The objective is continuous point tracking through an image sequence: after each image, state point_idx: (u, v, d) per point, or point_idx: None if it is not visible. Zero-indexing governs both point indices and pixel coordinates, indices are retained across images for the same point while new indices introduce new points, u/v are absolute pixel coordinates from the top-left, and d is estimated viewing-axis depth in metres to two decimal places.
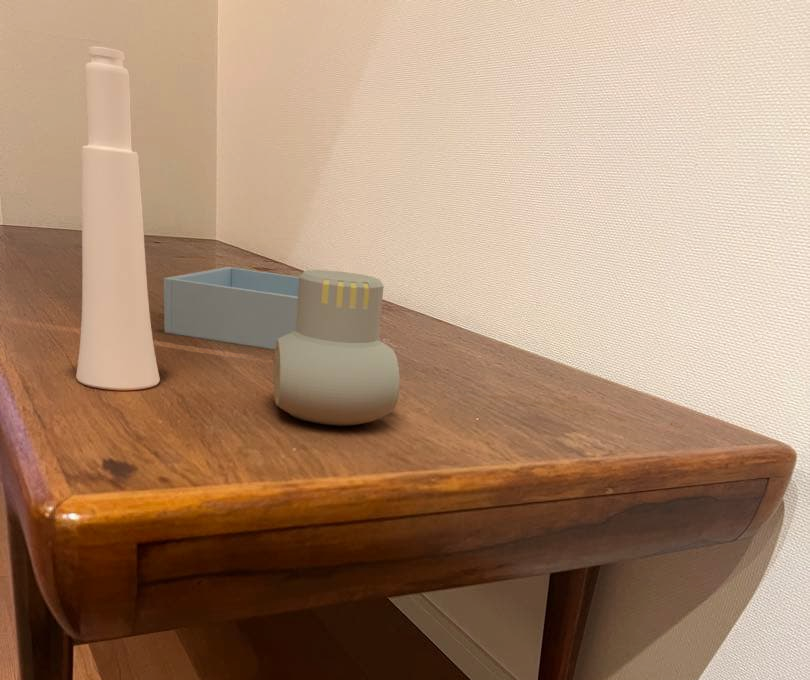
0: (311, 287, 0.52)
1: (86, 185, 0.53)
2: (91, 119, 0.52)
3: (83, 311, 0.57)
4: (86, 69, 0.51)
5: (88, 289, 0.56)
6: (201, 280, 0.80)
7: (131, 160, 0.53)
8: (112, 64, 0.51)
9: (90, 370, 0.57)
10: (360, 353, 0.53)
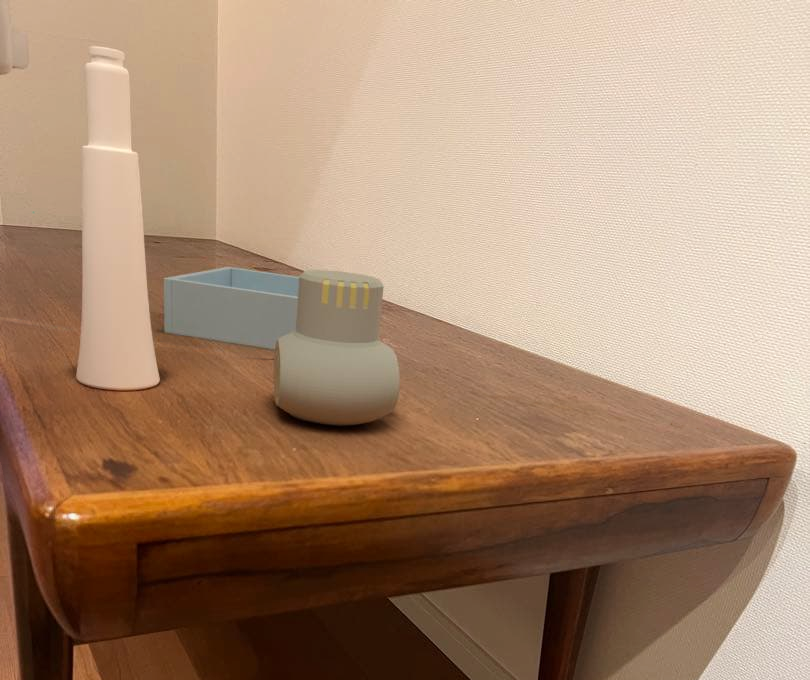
0: (311, 287, 0.52)
1: (87, 184, 0.53)
2: (91, 119, 0.52)
3: (83, 311, 0.57)
4: (86, 69, 0.51)
5: (88, 289, 0.56)
6: (201, 280, 0.80)
7: (131, 160, 0.53)
8: (112, 64, 0.51)
9: (90, 370, 0.57)
10: (360, 353, 0.53)
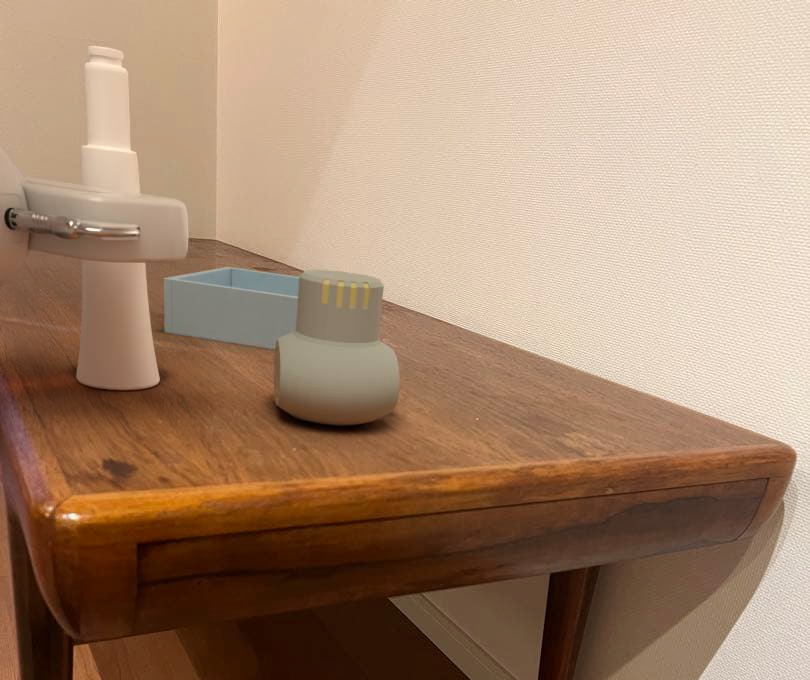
0: (311, 287, 0.52)
1: (86, 184, 0.53)
2: (90, 119, 0.52)
3: (83, 311, 0.57)
4: (85, 69, 0.51)
5: (88, 289, 0.56)
6: (201, 280, 0.80)
7: (130, 160, 0.53)
8: (111, 64, 0.51)
9: (90, 370, 0.57)
10: (360, 353, 0.53)
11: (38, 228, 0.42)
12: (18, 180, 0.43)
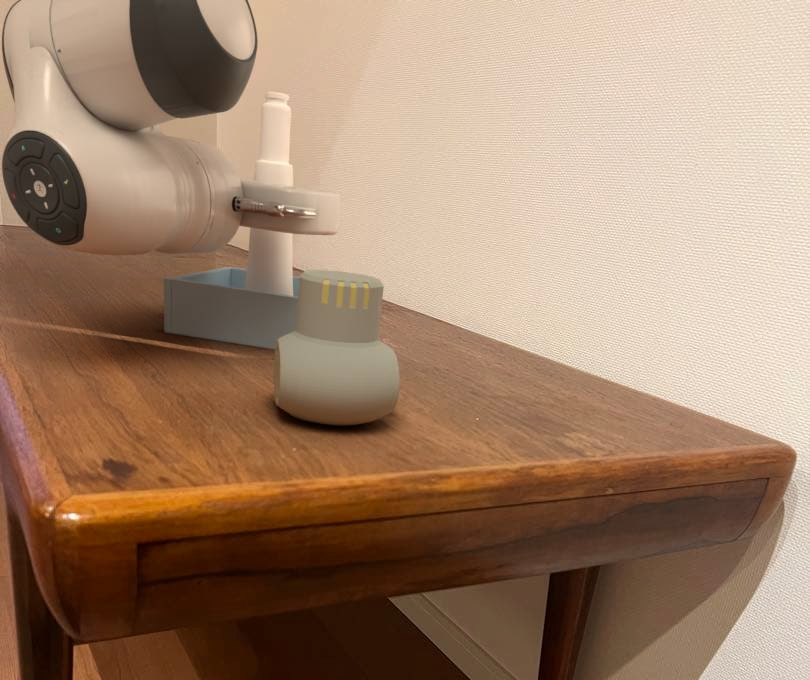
0: (311, 287, 0.52)
1: None
2: (265, 142, 0.74)
3: (248, 279, 0.78)
4: (263, 107, 0.73)
5: (254, 263, 0.77)
6: (201, 280, 0.80)
7: (290, 170, 0.75)
8: (282, 104, 0.73)
9: None
10: (360, 353, 0.53)
11: (255, 210, 0.64)
12: (238, 178, 0.65)
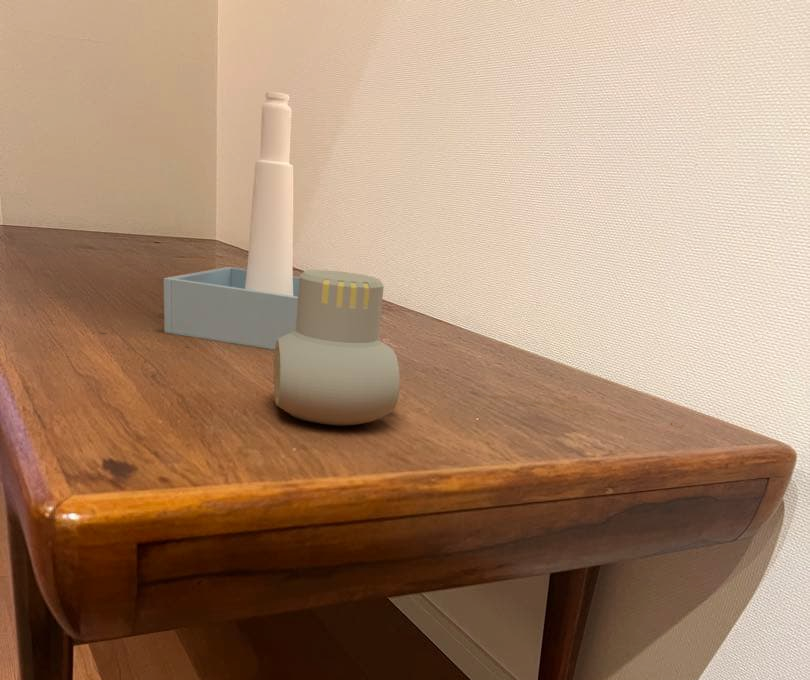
0: (311, 287, 0.52)
1: (259, 188, 0.75)
2: (265, 142, 0.74)
3: (248, 279, 0.78)
4: (264, 107, 0.73)
5: (254, 263, 0.77)
6: (201, 280, 0.80)
7: (290, 170, 0.75)
8: (282, 104, 0.73)
9: None
10: (360, 353, 0.53)
11: None
12: None
